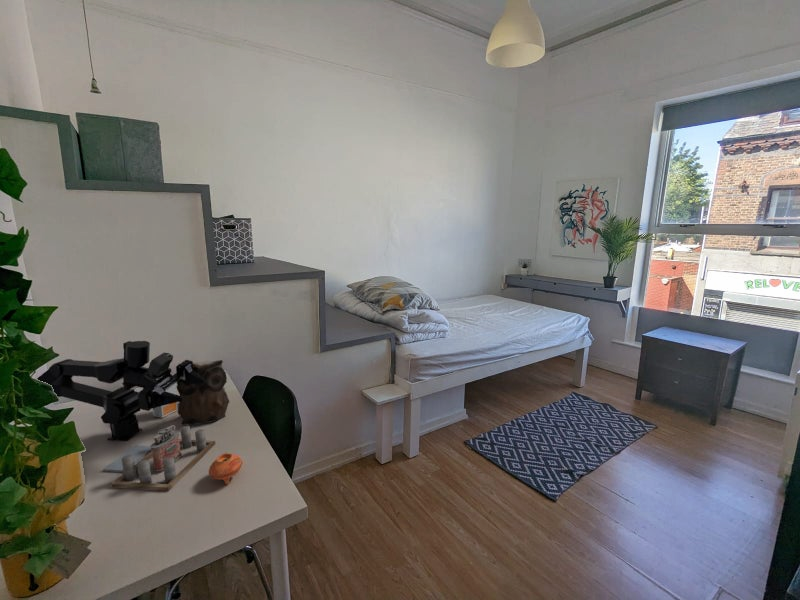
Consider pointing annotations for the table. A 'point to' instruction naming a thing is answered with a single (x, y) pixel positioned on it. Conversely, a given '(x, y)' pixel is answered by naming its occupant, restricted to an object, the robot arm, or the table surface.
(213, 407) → the owl
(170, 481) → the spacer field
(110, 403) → the robot arm
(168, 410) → the skincare box
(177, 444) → the lighter
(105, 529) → the table surface
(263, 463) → the table surface
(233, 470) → the pot
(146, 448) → the mat
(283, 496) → the table surface
